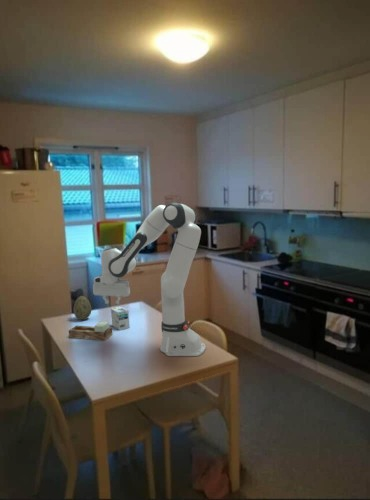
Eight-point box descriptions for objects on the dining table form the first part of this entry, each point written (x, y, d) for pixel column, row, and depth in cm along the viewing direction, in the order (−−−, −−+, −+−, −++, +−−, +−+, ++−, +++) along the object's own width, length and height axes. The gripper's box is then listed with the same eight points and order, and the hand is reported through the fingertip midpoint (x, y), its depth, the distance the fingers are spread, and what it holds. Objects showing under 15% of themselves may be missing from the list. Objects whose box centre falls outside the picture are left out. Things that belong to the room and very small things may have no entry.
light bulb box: (129, 328, 222) (129, 310, 220) (119, 330, 218) (118, 312, 216) (121, 323, 231) (121, 305, 229) (111, 325, 227) (110, 307, 225)
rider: (109, 331, 211) (108, 322, 210) (103, 335, 205) (102, 326, 204) (101, 330, 213) (100, 321, 212) (94, 335, 206) (94, 326, 205)
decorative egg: (84, 323, 232) (82, 299, 230) (70, 321, 237) (68, 297, 235) (95, 317, 242) (94, 294, 240) (82, 315, 247) (80, 293, 244)
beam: (112, 334, 212) (112, 327, 211) (105, 340, 204) (105, 333, 203) (76, 332, 217) (76, 325, 217) (69, 337, 210) (68, 330, 209)
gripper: (131, 277, 202) (132, 303, 204) (96, 276, 208) (98, 301, 210) (126, 280, 196) (127, 306, 198) (90, 279, 202) (92, 304, 204)
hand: (112, 303), depth 204 cm, fingers open, 5 cm apart
